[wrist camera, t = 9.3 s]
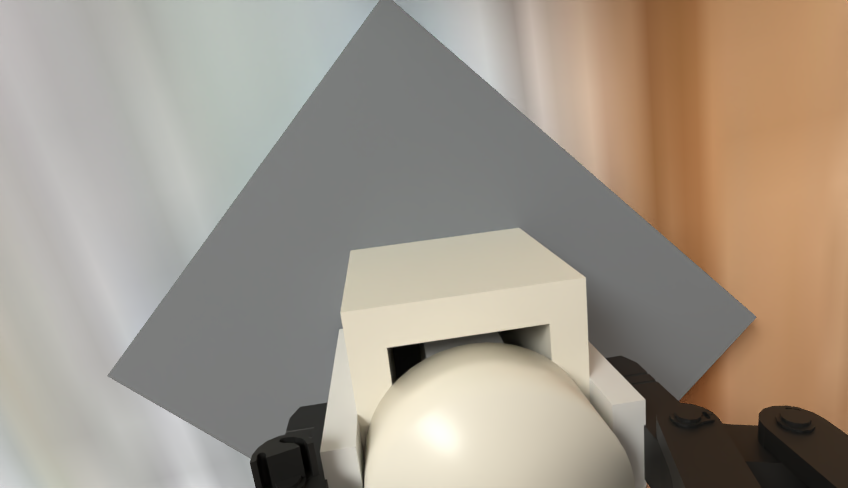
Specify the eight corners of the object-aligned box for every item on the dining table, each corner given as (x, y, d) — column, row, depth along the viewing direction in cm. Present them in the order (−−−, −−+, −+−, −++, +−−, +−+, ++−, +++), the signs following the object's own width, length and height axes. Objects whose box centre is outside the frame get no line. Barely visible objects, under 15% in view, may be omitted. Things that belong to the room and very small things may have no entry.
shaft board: (383, 2, 16) (389, -66, 10) (734, 305, 20) (890, 387, 14) (124, 359, 18) (0, 480, 12) (487, 573, 22) (531, 745, 16)
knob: (350, 250, 17) (331, 371, 9) (518, 227, 17) (646, 323, 9) (383, 461, 19) (391, 716, 11) (533, 437, 19) (649, 666, 11)
